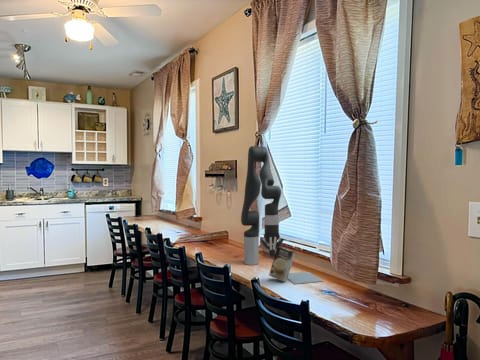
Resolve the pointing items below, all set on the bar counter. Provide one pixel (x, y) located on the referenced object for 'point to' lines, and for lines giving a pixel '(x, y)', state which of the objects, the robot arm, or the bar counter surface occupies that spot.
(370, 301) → the bar counter surface
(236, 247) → the bar counter surface
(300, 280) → the mat
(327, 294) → the bar counter surface
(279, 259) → the coffee box
